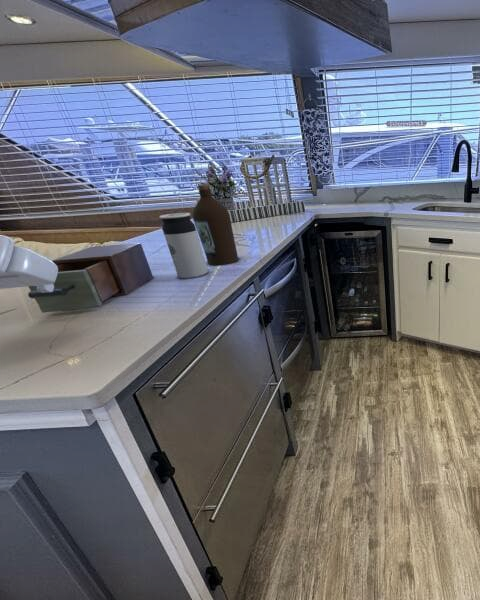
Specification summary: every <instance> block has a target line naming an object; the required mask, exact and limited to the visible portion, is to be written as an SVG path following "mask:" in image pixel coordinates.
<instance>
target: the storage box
mask: <svg viewBox="0 0 480 600" xmlns="http://www.w3.org/2000/svg"><path fill="white" fill-rule="evenodd" d="M104 259H108V260H109V262H110V265H111V267H112V270H113V272H114V274H115V277H116V279H117V282H118V284H119V286H120V289H121V290H120V291H119V292H117V293H115V294H114V295H112V296H111V297H119V296H127V295H128V294H130V293H131V292H133V291H135V290H136V289H138V288H140V287H141V286H142V285H143V284H146V283H147V282H148V281H150V280H152V279H153V278H154V276H153V273H152V269H151V267H150V265H149V264H150V263H149V262H148V259H147V257H146V253H145V251H144V248H143V245H142V242H135V243H124V244H123V243H122V244H121V243H120V244H108V245H97V246H90V247H87V248H83V249H81V250H78V251H75V252H72V253H70V254H67V255H64V256H61V257H57V258H56V259H53V260H51V262H53V263H54V264H56V265H57V266H58V265H60V264H63V263H69V262H80V261H92V260H104Z"/></svg>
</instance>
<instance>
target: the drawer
mask: <svg viewBox="0 0 480 600" xmlns="http://www.w3.org/2000/svg"><path fill="white" fill-rule="evenodd" d="M57 267H58V274H57V278H56V281H55V283H53V285H54V289H53V292H47V293H42V292H40V291H37V290H36V288H37V286H27V287H28V289H29V291H28V293H27V295H28V298H30V299H31V300H32V299H34V300H35V302H36V304H37V305H38V307H39V309H40V311H41V313H53V312H62V311H69V310H70V311H71V310H79V309H90V308H99V307H101V306H102V305H103V303H102V302H104V301H106V300H107V299H108V298H111V297H113V296H112V295H114V294H115V293H117V292H119V291H120V290H121V289H120V286H119V284H118V282H117V279H116V277H115V274H114V272H113V270H112V267H111V265H110V262H109V260H108V259H104V260H92V261H80V262H69V263H63V264H60V265H58V266H57Z"/></svg>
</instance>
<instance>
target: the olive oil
mask: <svg viewBox="0 0 480 600" xmlns="http://www.w3.org/2000/svg"><path fill="white" fill-rule="evenodd" d="M197 188H198V194H199V200H198V202H197V203H196V205H195V206H194V208H193V210H192V220H193V224H194V225H195V228H196V232H197V235H198V238H199V241H200V244H201V247H202V250H203V251H204V252H203V253H204V255H205V258H206V260H207V261H206V262H207V264H208V265H210V266H221V265H228V264H232V263H236V262H237V261H238V260H239V256H238V250H237V246H236V241H235V236H234V231H233V226H232V219H231V215H230V212H229V210H228V209H227V207H226V206H224V204H222V203H221V202H219V201H218V200H217V199H215V197H213V194H212V190H211V188H210V185H209V184H198V185H197Z"/></svg>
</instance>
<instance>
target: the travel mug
mask: <svg viewBox="0 0 480 600" xmlns="http://www.w3.org/2000/svg"><path fill="white" fill-rule="evenodd" d="M159 219H161V221H162V227H161V229H162V232H163V235H164V238H165V241H166V245H167V247H168V250H169V254H170V256H171V259H172V263H173V265H174V269H175V271H176V275H177V277H178V278H180V279H195V278H198V277H201V276H205V275H206V274H207V273H208V272H209V269H208V265H207V263H206V262H207V261H206V259H205V256H204V255H205V254H204V252H203V248H202V244H201V241H200V237H199V234H198V232H197V229H196V226H195V223H194V221H192V219H191V213H190V212H177V213H176V212H175V213H168V214H167V213H166V214H161V215H159Z"/></svg>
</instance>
